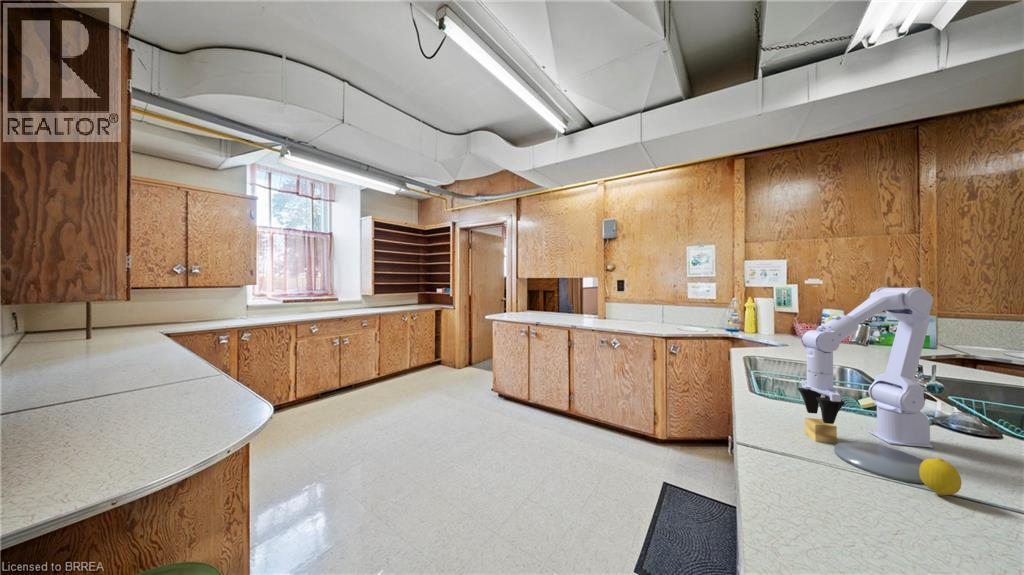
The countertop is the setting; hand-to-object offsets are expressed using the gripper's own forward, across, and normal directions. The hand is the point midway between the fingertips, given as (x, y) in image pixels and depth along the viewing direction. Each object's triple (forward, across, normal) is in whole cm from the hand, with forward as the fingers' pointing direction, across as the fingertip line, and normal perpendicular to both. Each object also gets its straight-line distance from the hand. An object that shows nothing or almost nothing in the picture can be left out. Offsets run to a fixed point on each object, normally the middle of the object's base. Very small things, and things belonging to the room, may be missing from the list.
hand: (820, 417), depth 97 cm
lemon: (+6, +25, +8) cm, 27 cm away
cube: (+6, 0, 0) cm, 6 cm away
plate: (+6, +12, +7) cm, 15 cm away
